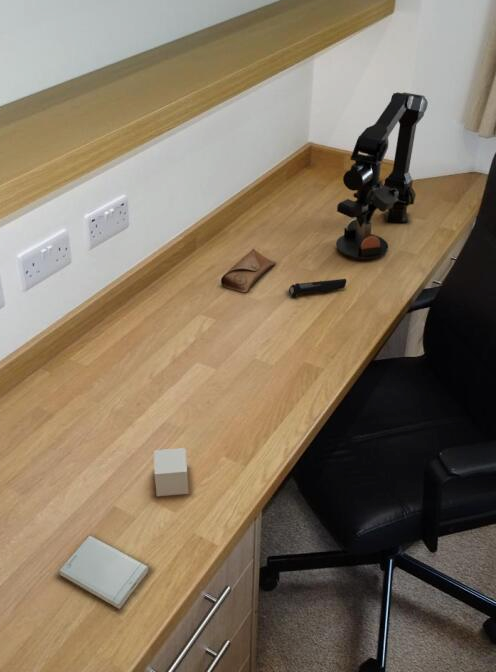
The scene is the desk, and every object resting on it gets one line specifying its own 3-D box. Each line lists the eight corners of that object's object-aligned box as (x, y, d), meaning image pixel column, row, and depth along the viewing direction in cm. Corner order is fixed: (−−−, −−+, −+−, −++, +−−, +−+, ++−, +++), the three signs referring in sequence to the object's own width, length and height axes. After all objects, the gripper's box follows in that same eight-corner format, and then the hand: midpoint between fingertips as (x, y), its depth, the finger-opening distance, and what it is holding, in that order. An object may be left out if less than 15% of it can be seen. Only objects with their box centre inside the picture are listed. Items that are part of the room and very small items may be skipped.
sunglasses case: (248, 292, 189) (236, 271, 187) (228, 297, 193) (217, 277, 192) (277, 262, 201) (267, 242, 200) (258, 268, 206) (248, 248, 204)
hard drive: (58, 569, 117) (118, 603, 112) (90, 534, 123) (147, 564, 118) (60, 576, 118) (119, 610, 113) (91, 540, 124) (148, 570, 119)
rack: (346, 263, 199) (349, 235, 194) (328, 238, 212) (330, 211, 207) (396, 256, 201) (400, 228, 196) (375, 232, 214) (378, 205, 209)
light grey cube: (188, 493, 132) (187, 471, 129) (156, 496, 132) (154, 474, 129) (186, 469, 137) (185, 447, 134) (156, 472, 137) (153, 450, 134)
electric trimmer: (347, 292, 189) (348, 282, 187) (291, 298, 186) (292, 288, 185) (343, 285, 192) (344, 275, 190) (288, 291, 190) (288, 281, 188)
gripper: (369, 196, 184) (364, 248, 193) (413, 176, 194) (406, 226, 202) (337, 183, 192) (333, 234, 200) (381, 165, 201) (376, 213, 210)
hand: (363, 227), depth 203 cm, fingers closed on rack
